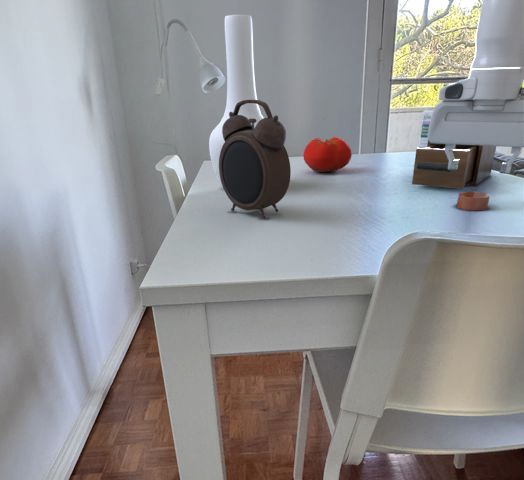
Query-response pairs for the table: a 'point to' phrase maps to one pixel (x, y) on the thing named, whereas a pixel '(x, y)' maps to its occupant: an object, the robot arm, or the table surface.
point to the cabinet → (481, 164)
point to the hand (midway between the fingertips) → (477, 171)
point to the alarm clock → (254, 160)
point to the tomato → (327, 154)
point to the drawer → (444, 166)
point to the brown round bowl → (473, 201)
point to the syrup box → (425, 128)
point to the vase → (236, 80)
